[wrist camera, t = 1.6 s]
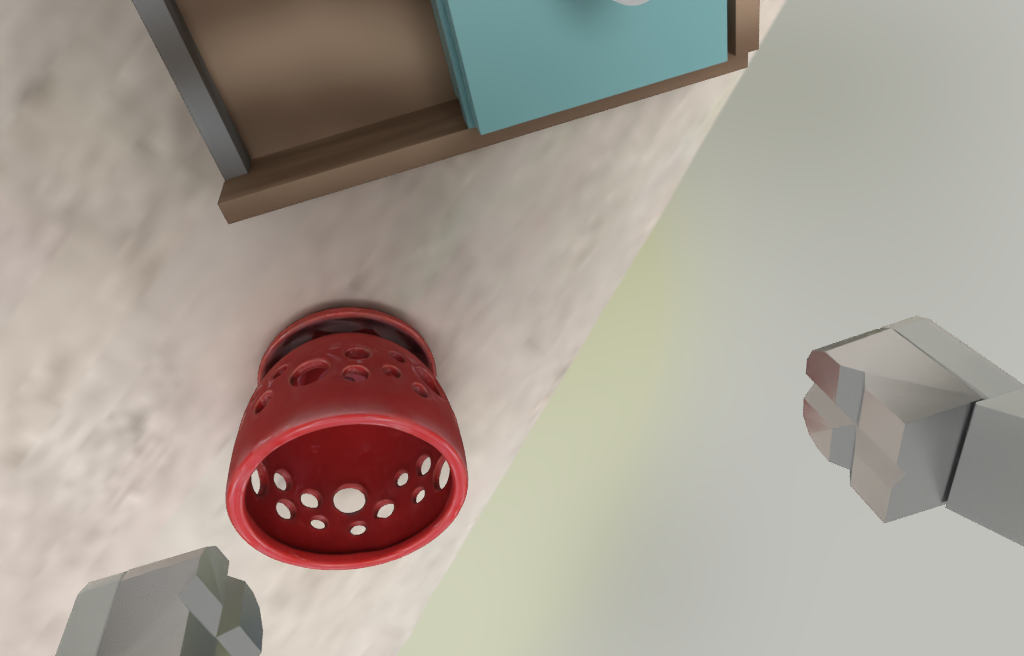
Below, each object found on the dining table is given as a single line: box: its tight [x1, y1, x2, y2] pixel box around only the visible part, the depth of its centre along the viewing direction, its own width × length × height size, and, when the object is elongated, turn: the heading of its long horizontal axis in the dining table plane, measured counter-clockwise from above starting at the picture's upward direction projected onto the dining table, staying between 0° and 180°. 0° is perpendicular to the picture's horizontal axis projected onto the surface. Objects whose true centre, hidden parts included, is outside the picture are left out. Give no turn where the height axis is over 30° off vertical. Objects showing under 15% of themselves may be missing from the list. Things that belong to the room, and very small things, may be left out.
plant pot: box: [226, 307, 468, 570], centre depth 40 cm, size 13×13×12 cm
